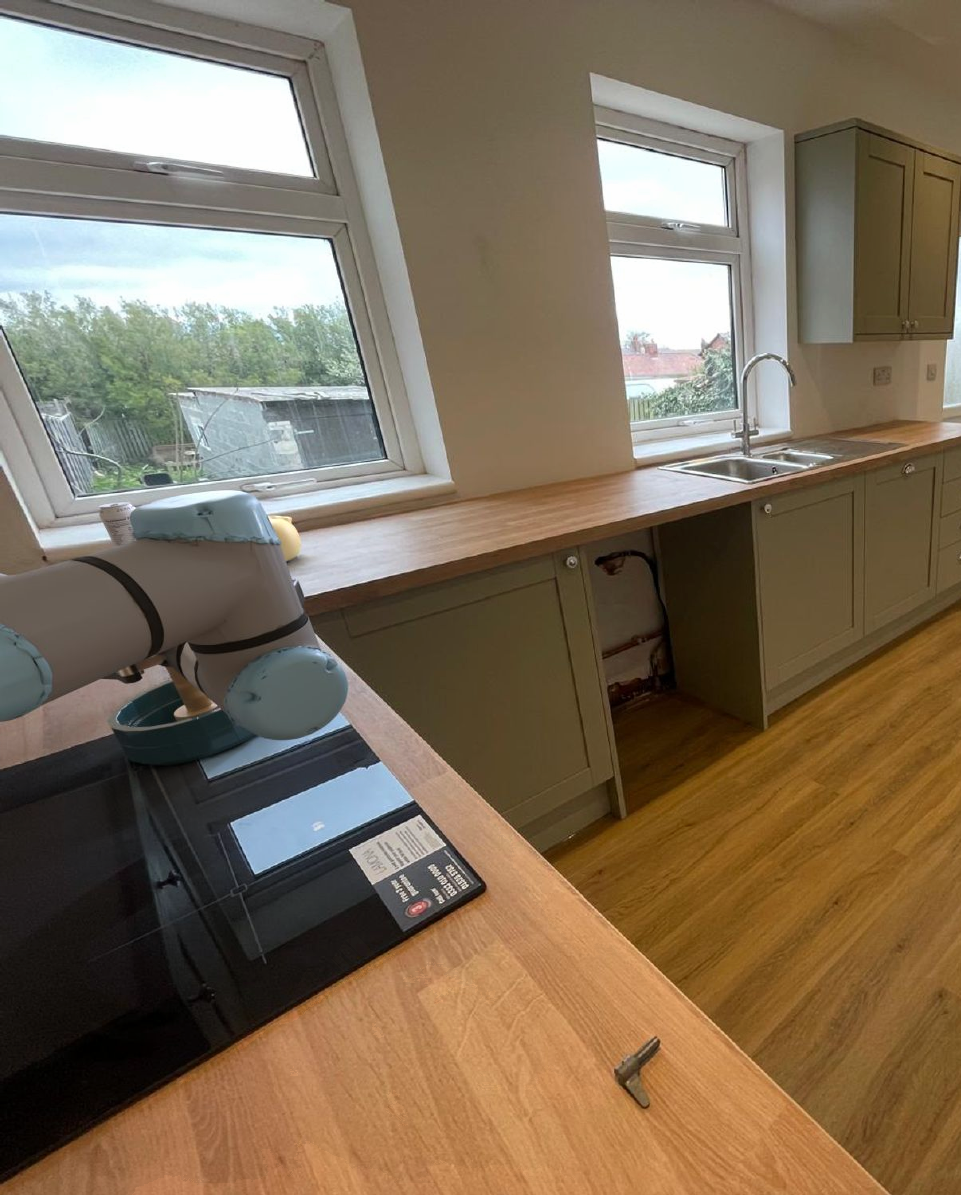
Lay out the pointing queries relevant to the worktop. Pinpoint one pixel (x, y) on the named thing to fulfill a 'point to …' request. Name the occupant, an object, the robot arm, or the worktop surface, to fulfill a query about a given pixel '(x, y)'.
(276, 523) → the yellow persimmon
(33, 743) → the worktop surface
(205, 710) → the wooden stirrer
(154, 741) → the bowl
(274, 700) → the robot arm
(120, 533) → the energy drink can
